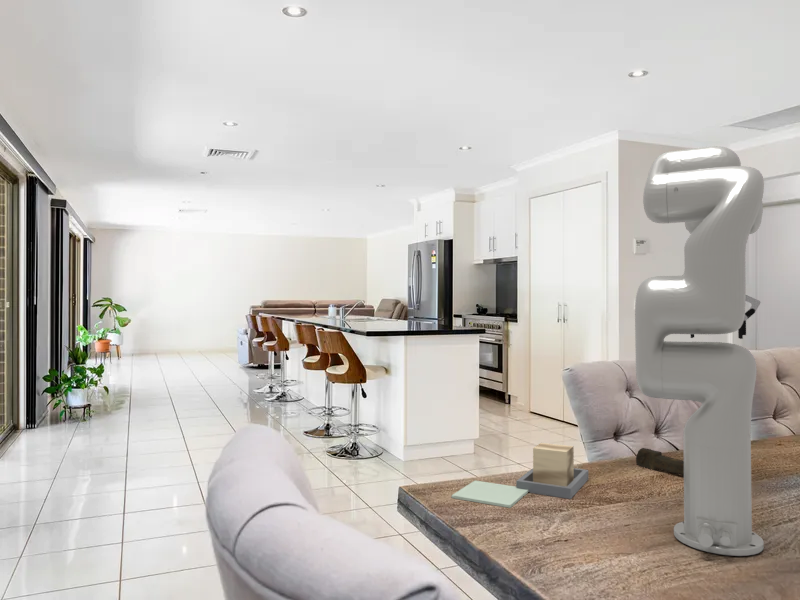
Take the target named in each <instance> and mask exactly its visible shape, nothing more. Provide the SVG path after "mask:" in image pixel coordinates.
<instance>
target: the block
mask: <svg viewBox="0 0 800 600" xmlns="http://www.w3.org/2000/svg"><path fill="white" fill-rule="evenodd" d="M574 453H575V450H574V445H565V444H555V443H547V442H541V443H538V444H537V445H536V446H534V447H533V448H532V469H533V482H538V483H545V484H552V485H558V486H565V487H567V486H568V485H569V484H570V483H571V482H572V481H573V480H574V466H575V465H574V462H575V459H574V458H575V456H574Z"/></svg>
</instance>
